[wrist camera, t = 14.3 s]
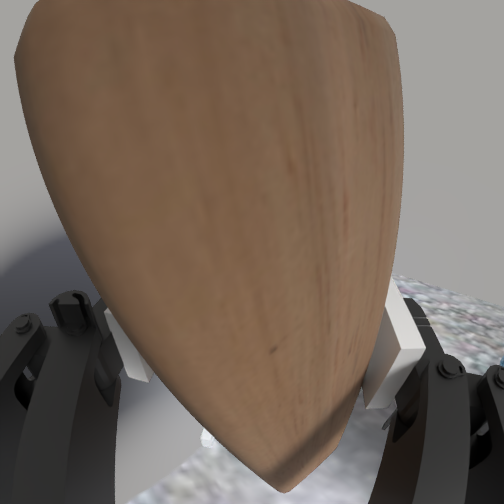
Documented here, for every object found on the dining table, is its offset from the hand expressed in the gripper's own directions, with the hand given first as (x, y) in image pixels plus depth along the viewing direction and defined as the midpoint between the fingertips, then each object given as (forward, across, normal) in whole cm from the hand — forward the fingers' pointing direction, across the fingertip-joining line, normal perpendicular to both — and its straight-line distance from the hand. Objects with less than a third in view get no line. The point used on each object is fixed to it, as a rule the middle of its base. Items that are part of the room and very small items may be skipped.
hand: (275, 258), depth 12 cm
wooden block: (-3, 0, -10) cm, 11 cm away
